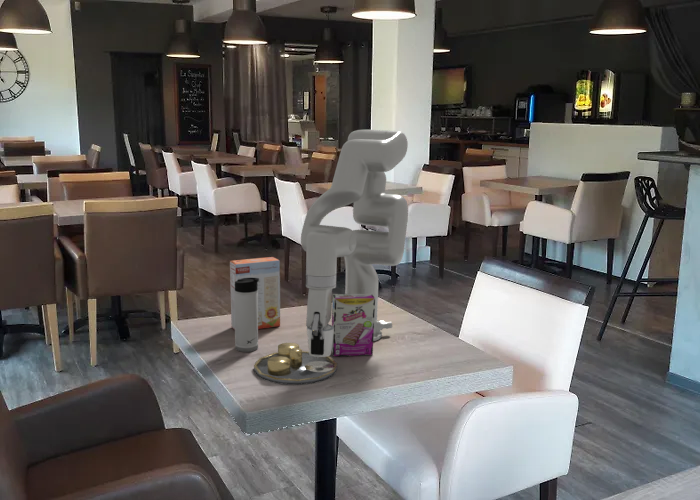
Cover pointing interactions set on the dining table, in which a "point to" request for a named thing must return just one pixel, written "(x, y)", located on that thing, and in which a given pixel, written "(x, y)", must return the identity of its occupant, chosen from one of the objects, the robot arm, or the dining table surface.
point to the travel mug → (246, 314)
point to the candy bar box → (353, 324)
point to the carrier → (294, 366)
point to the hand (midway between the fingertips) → (319, 349)
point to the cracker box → (259, 288)
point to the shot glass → (327, 340)
